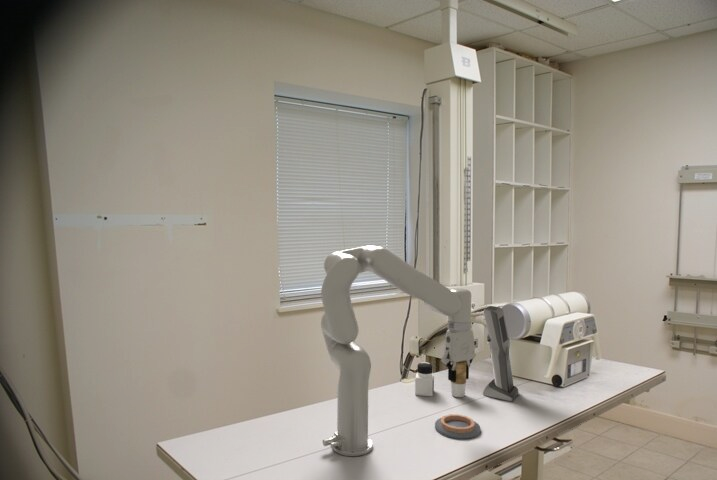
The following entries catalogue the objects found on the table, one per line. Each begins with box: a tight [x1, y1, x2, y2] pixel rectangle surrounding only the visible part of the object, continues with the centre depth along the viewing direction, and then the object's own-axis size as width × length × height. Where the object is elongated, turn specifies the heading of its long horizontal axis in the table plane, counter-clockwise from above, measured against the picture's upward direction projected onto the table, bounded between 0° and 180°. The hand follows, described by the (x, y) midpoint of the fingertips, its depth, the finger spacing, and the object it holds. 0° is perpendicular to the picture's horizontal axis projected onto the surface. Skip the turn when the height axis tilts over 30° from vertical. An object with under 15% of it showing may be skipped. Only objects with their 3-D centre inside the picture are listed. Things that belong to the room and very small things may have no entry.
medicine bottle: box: [414, 362, 435, 397], centre depth 187 cm, size 7×7×12 cm
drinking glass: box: [450, 381, 467, 398], centre depth 184 cm, size 7×7×15 cm
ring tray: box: [434, 413, 481, 440], centre depth 155 cm, size 15×15×2 cm
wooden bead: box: [450, 361, 467, 384], centre depth 154 cm, size 5×5×7 cm
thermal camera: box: [482, 305, 519, 403], centre depth 185 cm, size 12×13×35 cm
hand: (458, 378), depth 154 cm, fingers closed on wooden bead, 4 cm apart
